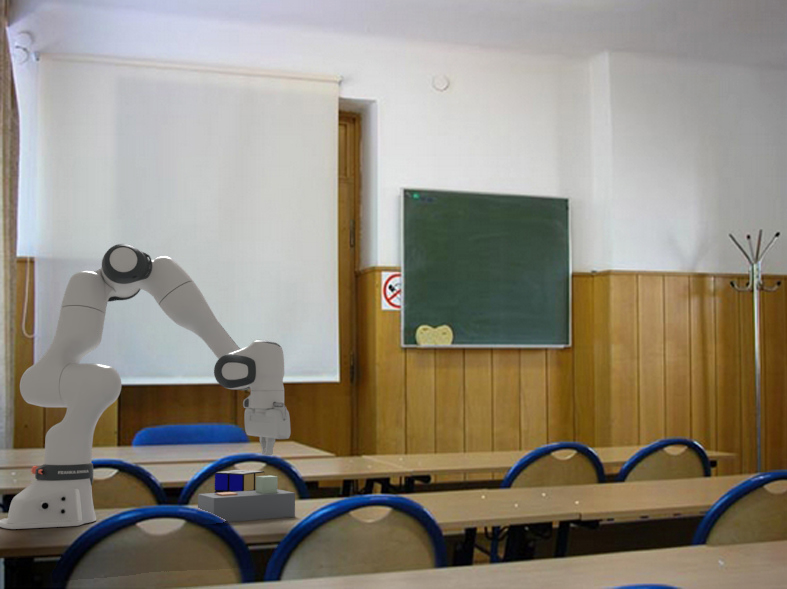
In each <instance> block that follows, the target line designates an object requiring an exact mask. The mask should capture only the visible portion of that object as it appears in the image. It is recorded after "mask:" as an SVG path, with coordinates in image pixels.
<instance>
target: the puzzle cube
mask: <svg viewBox="0 0 787 589" xmlns="http://www.w3.org/2000/svg"><path fill="white" fill-rule="evenodd" d="M265 473H266V472H265V471H264V470H252V469H251V470H248V469H233V470H231V469H230V470H226V471H216V472H215V473H214V490H215V491H214V493H222V492H238V491H254V490H256V476H266V475H265Z"/></svg>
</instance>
